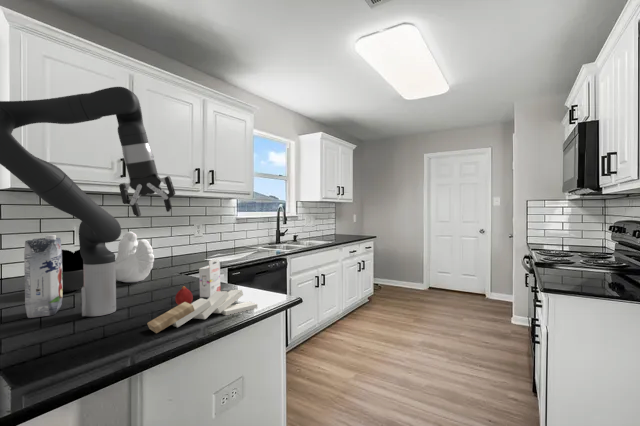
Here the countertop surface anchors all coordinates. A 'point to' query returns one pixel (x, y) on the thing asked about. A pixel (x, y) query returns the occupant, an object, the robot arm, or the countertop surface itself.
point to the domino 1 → (198, 307)
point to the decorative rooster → (133, 259)
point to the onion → (184, 296)
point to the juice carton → (43, 276)
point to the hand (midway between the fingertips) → (154, 213)
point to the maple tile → (170, 317)
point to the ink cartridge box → (209, 278)
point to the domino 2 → (213, 303)
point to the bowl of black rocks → (72, 270)
